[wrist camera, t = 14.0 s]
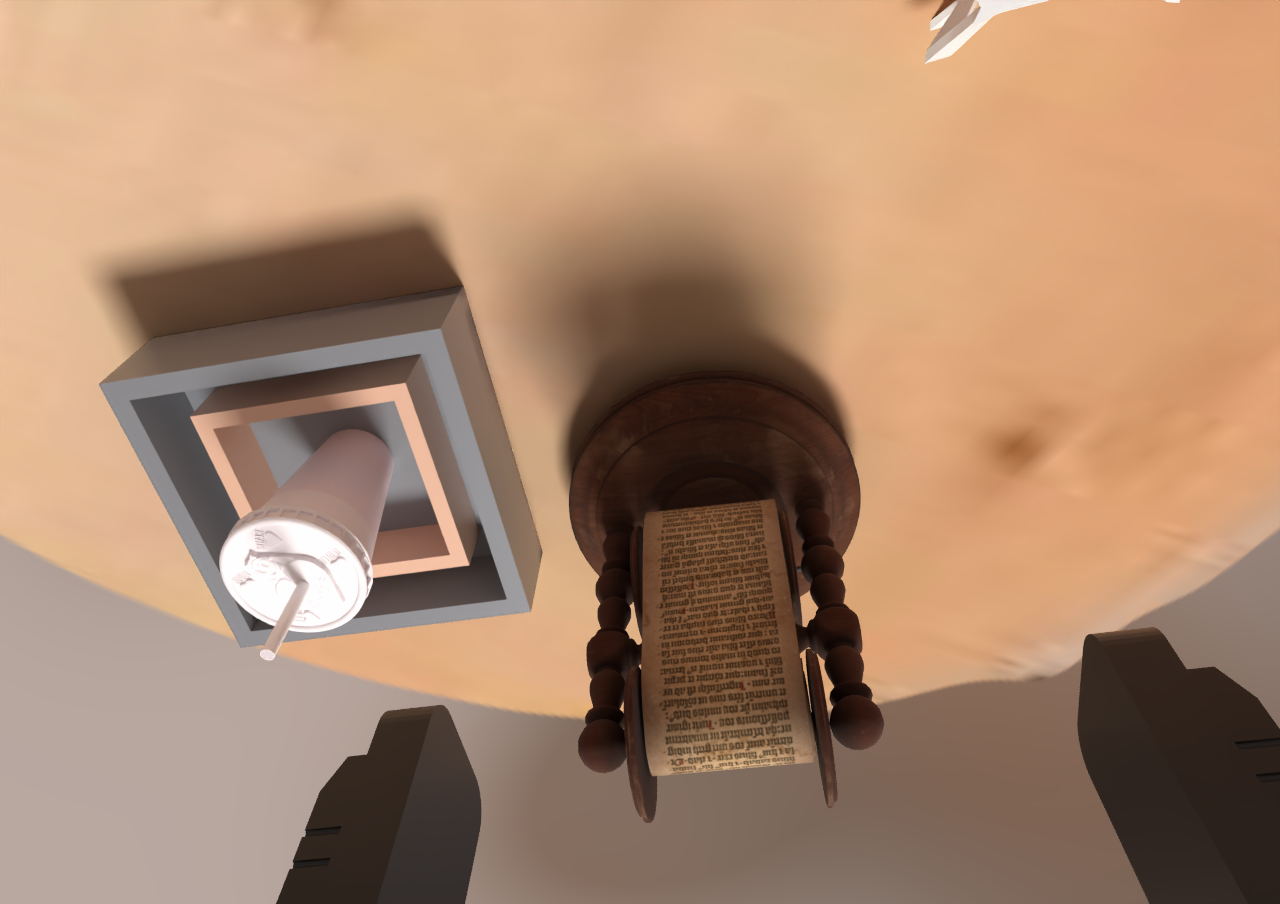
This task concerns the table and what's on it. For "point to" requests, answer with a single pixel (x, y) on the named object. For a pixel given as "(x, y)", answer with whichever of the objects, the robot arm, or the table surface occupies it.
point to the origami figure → (968, 23)
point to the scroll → (719, 582)
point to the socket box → (316, 409)
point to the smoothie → (312, 540)
